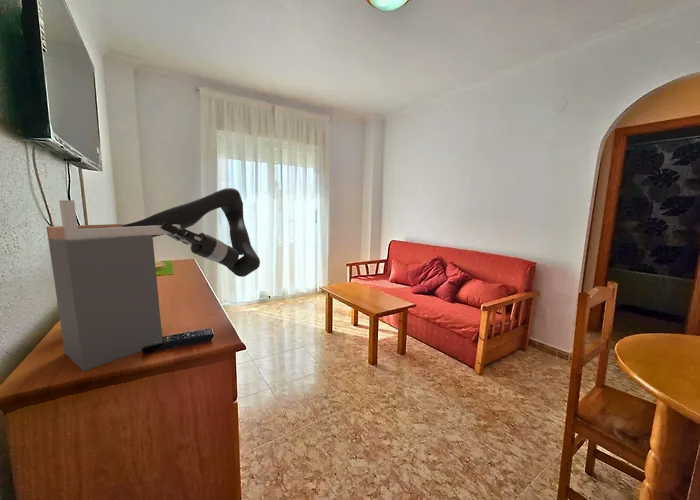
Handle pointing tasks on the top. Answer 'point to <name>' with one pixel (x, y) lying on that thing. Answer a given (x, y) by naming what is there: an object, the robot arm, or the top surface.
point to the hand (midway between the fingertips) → (160, 224)
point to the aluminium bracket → (97, 233)
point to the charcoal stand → (105, 295)
